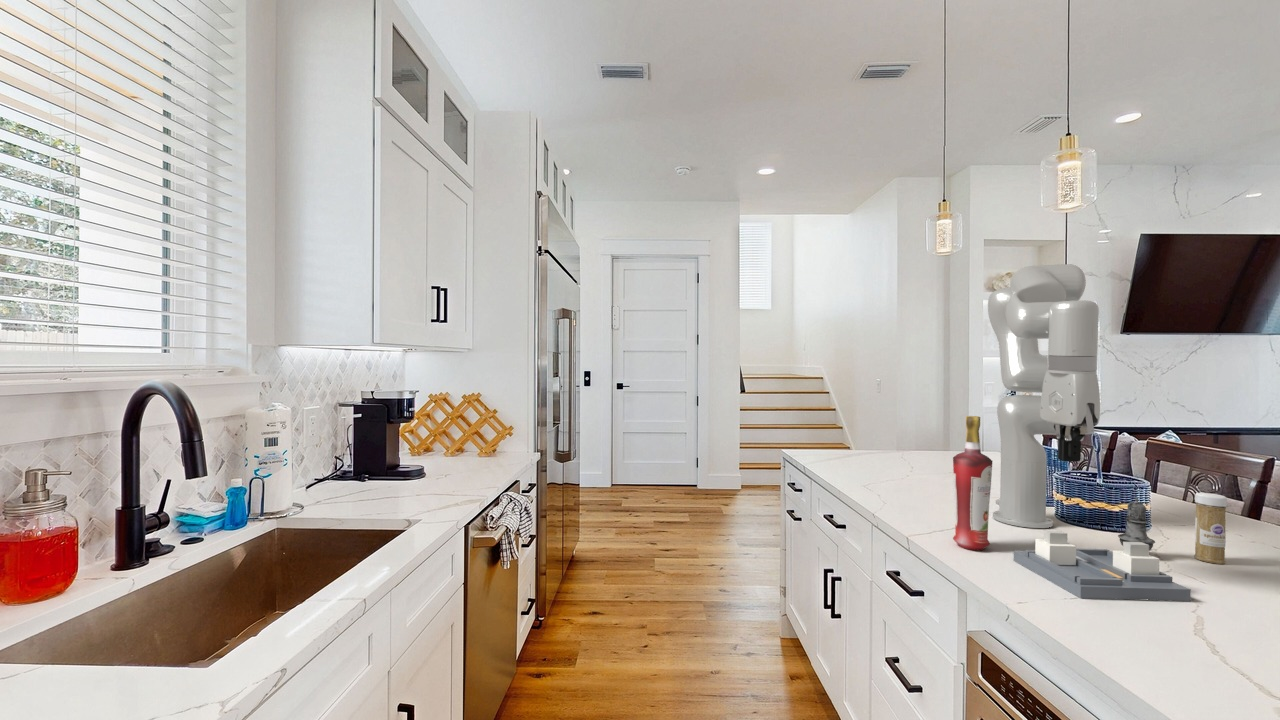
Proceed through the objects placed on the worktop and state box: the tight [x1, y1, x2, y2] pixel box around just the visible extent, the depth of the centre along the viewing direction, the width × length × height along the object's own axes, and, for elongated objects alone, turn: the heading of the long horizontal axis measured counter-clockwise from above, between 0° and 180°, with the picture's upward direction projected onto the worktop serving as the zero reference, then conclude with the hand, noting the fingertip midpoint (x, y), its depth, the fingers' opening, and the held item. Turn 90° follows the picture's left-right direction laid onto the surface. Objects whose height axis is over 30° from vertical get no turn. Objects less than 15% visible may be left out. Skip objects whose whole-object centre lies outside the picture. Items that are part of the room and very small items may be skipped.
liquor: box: [952, 415, 993, 551], centre depth 122 cm, size 7×7×28 cm
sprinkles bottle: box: [1193, 492, 1228, 565], centre depth 115 cm, size 5×5×14 cm
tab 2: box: [1112, 542, 1160, 575], centre depth 101 cm, size 4×5×6 cm
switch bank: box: [1013, 547, 1192, 602], centre depth 104 cm, size 18×18×3 cm
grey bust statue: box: [1117, 497, 1156, 552], centre depth 118 cm, size 6×6×12 cm
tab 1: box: [1034, 530, 1077, 565], centre depth 107 cm, size 4×5×6 cm
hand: (1068, 460), depth 109 cm, fingers closed
